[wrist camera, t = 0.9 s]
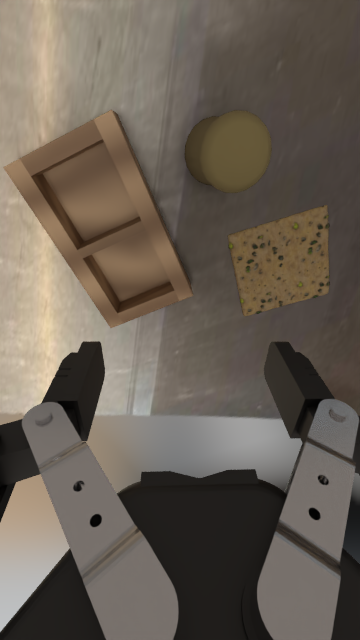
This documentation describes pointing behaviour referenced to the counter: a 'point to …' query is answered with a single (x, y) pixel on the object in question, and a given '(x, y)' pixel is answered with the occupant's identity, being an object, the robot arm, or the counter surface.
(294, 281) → the tan speckled flat square
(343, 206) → the counter surface
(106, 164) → the caddy
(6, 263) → the counter surface
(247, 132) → the olive game pawn
